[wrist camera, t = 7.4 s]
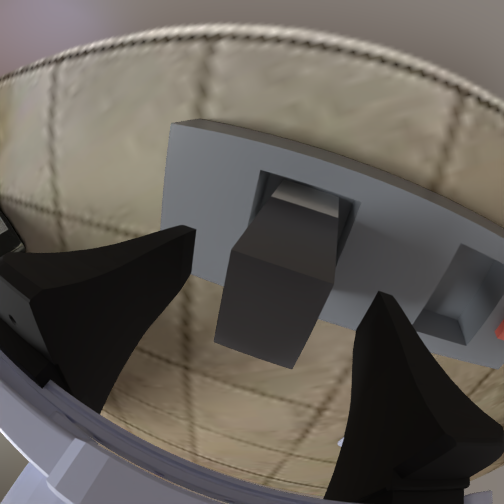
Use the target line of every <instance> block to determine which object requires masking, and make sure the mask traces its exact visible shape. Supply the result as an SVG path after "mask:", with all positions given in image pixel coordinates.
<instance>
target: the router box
mask: <svg viewBox="0 0 504 504" xmlns="http://www.w3.org/2000/svg"><path fill="white" fill-rule="evenodd" d="M8 252H23V253H25V247H24V246H23V244H22V242H21V241H20V239H19V237H18V235H17V234H16V232H15V231H14V229H13V228H12V226H11V224H10V223H9V221H8V220H7V218H6V217H5V216H4V215H3V213H2V212H1V211H0V257H2V256H3V255H5V254H6V253H8Z"/></svg>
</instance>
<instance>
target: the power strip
mask: <svg viewBox="0 0 504 504" xmlns="http://www.w3.org/2000/svg"><path fill="white" fill-rule="evenodd" d="M283 180H287V181H290V182H294V183H297V184H300V185H303V186H306V187H310V188H313V189H316V190H319V191H322V192H325V193H328V194H331V195H334V196H337V197H339V210H338V234H337V252H336V267H335V279H334V286H333V288H332V290H331V292H330V294H329V296H328V299H327V301H326V303H325V305H324V307H323V309H322V311H321V313H320V316H319V318H318V319H320V320H323V321H326V322H329V323H333V324H336V325H339V326H342V327H345V328H348V329H352V330H355V331H356V329H357V327H358V326H359V324H360V322H361V321H362V319H363V317H364V315H365V314H366V312H367V310H368V308H369V307H370V305H371V303H372V301H373V300H374V298H375V296H376V294H377V292H378V291H381V292H384V293H387V294H390V295H393V297H394V298H395V299H396V301H397V302H398V303H399V305H400V306H401V308H402V310H403V311H404V313H405V314H406V316H407V318H408V319H409V321H410V322H411V324H412V326H413V327H414V329H415V330H416V332H417V333H418V335H419V337H420V338H421V340H422V341H423V343H424V344H425V346H426V347H427V349H428V350H429V351H430V352H431V353H435V354H438V355H442V356H446V357H450V358H454V359H458V360H462V361H465V362H469V363H474V364H478V365H482V366H486V367H490V368H494V369H499V368H500V367H501V366H502V365H503V364H504V228H502V227H500V226H499V225H497V224H495V223H493V222H492V221H490V220H488V219H486V218H484V217H483V216H481V215H479V214H477V213H475V212H473V211H471V210H469V209H467V208H465V207H463V206H462V205H460V204H458V203H455V202H453V201H451V200H449V199H447V198H445V197H443V196H441V195H439V194H437V193H435V192H432V191H430V190H428V189H426V188H423V187H421V186H419V185H417V184H414V183H412V182H410V181H407V180H405V179H403V178H400V177H398V176H395V175H393V174H390V173H388V172H385V171H383V170H380V169H377V168H375V167H372V166H369V165H367V164H364V163H361V162H358V161H356V160H353V159H350V158H347V157H344V156H341V155H338V154H335V153H332V152H329V151H326V150H323V149H320V148H316V147H313V146H310V145H307V144H303V143H300V142H296V141H293V140H289V139H286V138H282V137H278V136H274V135H271V134H267V133H263V132H259V131H254V130H250V129H246V128H242V127H237V126H233V125H228V124H223V123H218V122H213V121H208V120H203V119H193V120H187V121H181V122H175V123H171V126H170V134H169V142H168V150H167V158H166V167H165V177H164V188H163V200H162V214H161V230H164V229H167V228H171V227H174V226H178V225H185V226H188V227H191V228H194V229H197V230H196V238H195V246H194V255H193V263H192V272H191V274H192V275H194V276H197V277H200V278H202V279H205V280H208V281H210V282H213V283H216V284H218V285H221V286H224V283H225V278H226V273H227V268H228V263H229V258H230V252H231V249H232V248H233V246H234V245H235V244H236V242H237V241H238V240H239V238H240V237H241V236H242V234H243V233H244V232H245V230H246V229H247V227H248V226H249V225H250V223H251V222H252V221H253V219H254V218H255V217H256V215H257V214H258V213H259V211H260V210H261V209H262V207H263V206H264V205H265V203H266V202H267V201H268V200H269V198H270V197H271V196H272V194H273V193H274V192H275V190H276V189H277V188H278V186H279V185H280V184H281V182H282V181H283ZM161 230H160V231H161Z"/></svg>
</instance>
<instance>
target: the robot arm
mask: <svg viewBox="0 0 504 504" xmlns="http://www.w3.org/2000/svg"><path fill="white" fill-rule="evenodd" d="M196 230H197V229H194V228H191V227H188V226H185V225H178V226H174V227H171V228H167V229H164V230H161V231H158V232H155V233H151V234H148V235H145V236H142V237H139V238H135V239H131V240H128V241H124V242H121V243H117V244H113V245H109V246H104V247H99V248H93V249H87V250H79V251H71V252H60V253H23V252H8V253H6V254H5V255H3V256H2V257H0V431H1V433H3V435H4V436H5V437H6V438H7V439H8V440H9V441H10V442H11V443H12V445H13V446H14V447H15V448H16V449H17V450H18V451H19V452H20V453H21V454H22V455H23V456H24V457H25V458H26V459H27V460H28V461H29V463H28V464H27V466H26V467H25V469H24V470H23V471H22V473H21V474H20V476H19V477H18V479H17V480H16V482H15V483H14V484H13V486H12V487H11V489H10V490H9V492H8V493H7V495H6V496H5V498H4V499H3V501H2V502H1V504H223V503H220V502H217V501H215V500H212V499H209V498H206V497H203V496H201V495H198V494H195V493H193V492H190V491H188V490H185V489H183V488H181V487H178V486H176V485H174V484H171V483H169V482H167V481H164V480H162V479H160V478H158V477H156V476H154V475H152V474H150V473H148V472H146V471H144V470H142V469H140V468H138V467H136V466H135V465H133V464H131V463H129V462H127V461H125V460H124V459H122V458H120V457H118V456H117V455H115V454H113V453H111V452H110V451H108V450H106V449H104V448H103V447H101V446H99V445H98V443H96V441H97V442H99V443H100V444H102V445H104V446H105V447H107V448H108V449H110V450H112V451H113V452H115V453H117V454H118V455H120V456H122V457H123V458H125V459H127V460H129V461H131V462H132V463H134V464H136V465H138V466H140V467H142V468H144V469H146V470H148V471H150V472H152V473H154V474H156V475H158V476H160V477H162V478H164V479H167V480H169V481H171V482H173V483H176V484H178V485H180V486H183V487H185V488H188V489H190V490H192V491H195V492H198V493H200V494H203V495H206V496H208V497H211V498H214V499H217V500H220V501H223V502H226V503H229V504H492V491H491V490H489V491H484V492H477V493H472V494H468V495H465V496H464V489H465V488H467V487H469V485H470V477H471V476H473V475H474V474H476V473H478V472H479V471H481V470H483V469H484V468H486V467H488V466H489V465H491V464H492V463H493V462H495V461H496V460H497V459H498V458H499V457H501V455H502V454H503V452H504V431H503V427H502V426H501V425H500V424H498V423H497V422H496V421H495V420H493V419H492V418H491V417H490V416H488V415H487V414H486V413H484V412H483V411H482V410H481V409H480V408H479V407H478V406H477V405H476V404H474V403H473V402H472V401H471V400H470V399H469V398H468V397H467V396H466V395H465V394H464V393H463V392H462V391H461V390H460V389H459V387H458V386H457V385H456V384H455V383H454V382H453V381H452V380H451V379H450V377H449V376H448V375H447V374H446V373H445V371H444V370H443V369H442V368H441V366H440V365H439V364H438V362H437V361H436V360H435V358H434V357H433V356H432V354H431V353H430V351H429V350H428V349H427V347H426V346H425V344H424V343H423V341H422V340H421V338H420V337H419V335H418V333H417V332H416V330H415V329H414V327H413V326H412V324H411V322H410V321H409V319H408V318H407V316H406V314H405V313H404V311H403V310H402V308H401V306H400V305H399V303H398V302H397V301H396V299H395V298H394V297H393V295H390V294H387V293H384V292H381V291H378V292H377V294H376V296H375V298H374V300H373V301H372V303H371V305H370V307H369V308H368V310H367V312H366V314H365V315H364V317H363V319H362V321H361V322H360V324H359V326H358V327H357V329H356V335H355V341H354V348H353V364H352V389H351V403H350V411H349V416H348V421H347V426H346V431H345V435H344V437H343V438H342V439H341V440H340V441H338V445H339V446H342V447H341V450H340V454H339V457H338V460H337V463H336V467H335V470H334V473H333V475H332V478H331V481H330V483H329V486H328V488H327V491H326V493H325V496H324V498H323V499H319V498H313V497H307V496H301V495H297V494H292V493H287V492H283V491H279V490H275V489H270V488H266V487H263V486H259V485H256V484H252V483H249V482H245V481H242V480H239V479H236V478H233V477H230V476H227V475H224V474H221V473H218V472H215V471H213V470H210V469H207V468H205V467H202V466H200V465H197V464H195V463H192V462H190V461H187V460H185V459H183V458H180V457H178V456H176V455H174V454H171V453H169V452H167V451H165V450H163V449H161V448H159V447H157V446H155V445H153V444H151V443H149V442H147V441H145V440H143V439H141V438H139V437H137V436H135V435H133V434H132V433H130V432H128V431H126V430H125V429H123V428H121V427H119V426H118V425H116V424H114V423H113V422H111V421H109V420H108V419H106V418H104V417H103V416H101V415H100V413H101V411H102V408H103V406H104V404H105V402H106V400H107V398H108V395H109V393H110V391H111V389H112V387H113V386H114V384H115V382H116V380H117V378H118V376H119V374H120V372H121V371H122V369H123V367H124V365H125V364H126V362H127V360H128V359H129V357H130V355H131V353H132V352H133V350H134V349H135V347H136V346H137V344H138V342H139V341H140V339H141V338H142V336H143V335H144V334H145V332H146V331H147V330H148V328H149V327H150V326H151V325H152V323H153V322H154V321H155V320H156V319H157V318H158V316H159V315H160V314H161V313H162V312H163V310H164V309H165V308H166V307H167V306H168V305H169V303H170V302H171V301H172V300H173V299H174V297H175V296H176V295H177V294H178V293H179V291H180V290H181V288H182V287H183V285H184V284H185V282H186V281H187V279H188V277H189V276H190V274H191V272H192V263H193V255H194V246H195V238H196ZM90 437H91V438H90ZM92 438H93V439H94V440H96V441H94V440H93V439H92Z"/></svg>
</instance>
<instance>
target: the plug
mask: <svg viewBox="0 0 504 504" xmlns="http://www.w3.org/2000/svg"><path fill="white" fill-rule="evenodd" d="M338 210H339V197H337V196H334V195H331V194H328V193H325V192H322V191H319V190H316V189H313V188H310V187H306V186H303V185H300V184H297V183H294V182H290V181H287V180H283V181H282V182H281V184H280V185H279V186H278V188H277V189H276V190H275V192H274V193H273V194H272V196H271V197H270V198H269V200H268V201H267V202H266V203H265V205H264V206H263V207H262V209H261V210H260V211H259V213H258V214H257V215H256V217H255V218H254V219H253V221H252V222H251V223H250V225H249V226H248V227H247V229H246V230H245V232H244V233H243V234H242V236H241V237H240V238H239V240H238V241H237V242H236V244H235V245H234V246H233V248H232V249H231V252H230V258H229V263H228V268H227V273H226V278H225V283H224V289H223V294H222V299H221V305H220V310H219V315H218V321H217V326H216V332H215V337H214V342H215V343H218V344H221V345H223V346H226V347H228V348H231V349H234V350H237V351H239V352H242V353H245V354H248V355H250V356H253V357H256V358H259V359H262V360H265V361H268V362H271V363H274V364H277V365H280V366H283V367H286V368H289V369H293V367H294V365H295V363H296V361H297V359H298V357H299V355H300V353H301V352H302V350H303V348H304V346H305V344H306V342H307V340H308V338H309V336H310V334H311V332H312V330H313V328H314V326H315V324H316V322H317V320H318V318H319V316H320V313H321V311H322V309H323V307H324V305H325V303H326V301H327V299H328V296H329V294H330V292H331V290H332V288H333V286H334V279H335V267H336V252H337V234H338Z"/></svg>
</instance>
